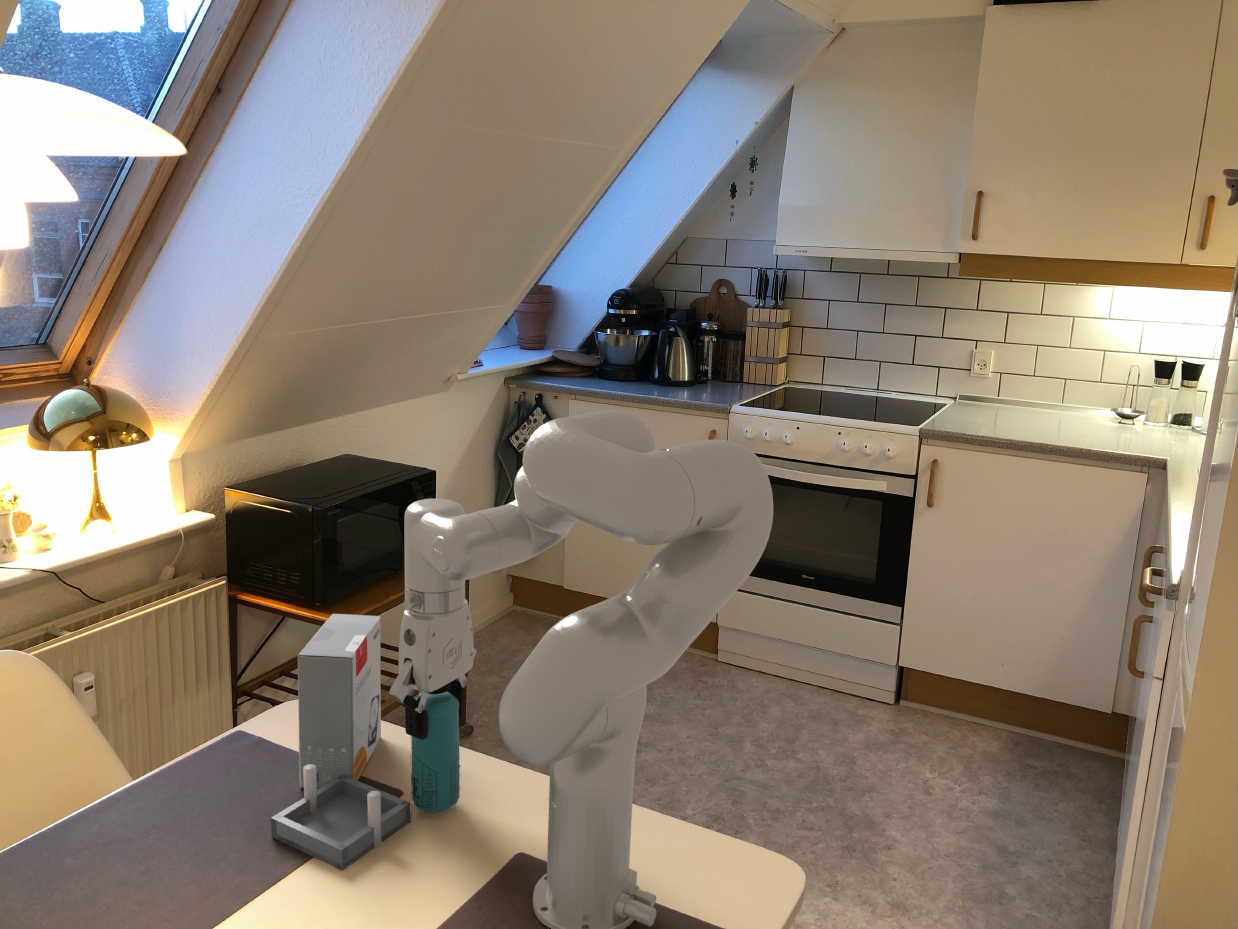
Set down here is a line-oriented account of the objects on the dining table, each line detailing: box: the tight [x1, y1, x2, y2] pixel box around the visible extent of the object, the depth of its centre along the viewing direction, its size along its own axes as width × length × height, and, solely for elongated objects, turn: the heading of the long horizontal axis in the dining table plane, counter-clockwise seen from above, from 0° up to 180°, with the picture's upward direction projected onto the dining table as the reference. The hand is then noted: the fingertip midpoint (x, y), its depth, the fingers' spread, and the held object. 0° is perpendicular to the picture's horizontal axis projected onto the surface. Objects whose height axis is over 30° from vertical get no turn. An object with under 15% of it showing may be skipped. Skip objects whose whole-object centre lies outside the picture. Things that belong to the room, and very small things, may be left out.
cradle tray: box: [270, 764, 412, 871], centre depth 126 cm, size 13×12×7 cm
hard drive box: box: [297, 613, 382, 789], centre depth 141 cm, size 16×8×20 cm, turn 179°
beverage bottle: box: [409, 682, 461, 813], centre depth 130 cm, size 6×7×20 cm
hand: (435, 723), depth 129 cm, fingers closed on beverage bottle, 6 cm apart
